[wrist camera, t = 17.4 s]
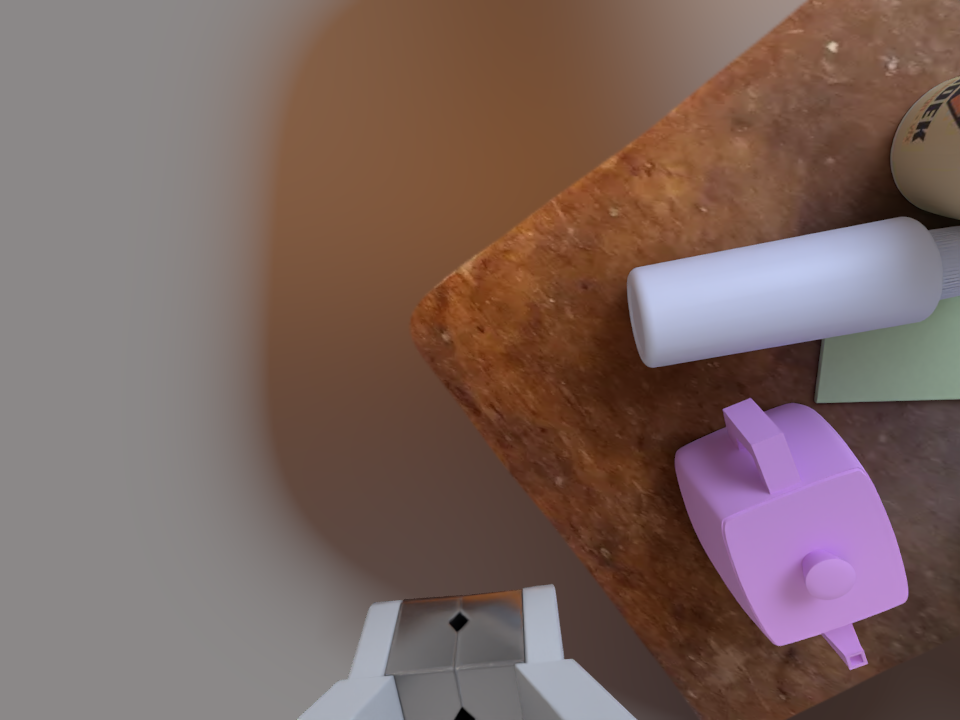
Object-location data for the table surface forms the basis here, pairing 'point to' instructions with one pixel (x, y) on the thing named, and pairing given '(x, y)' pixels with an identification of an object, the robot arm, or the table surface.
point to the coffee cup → (930, 151)
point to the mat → (894, 361)
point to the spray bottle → (792, 290)
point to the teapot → (792, 525)
